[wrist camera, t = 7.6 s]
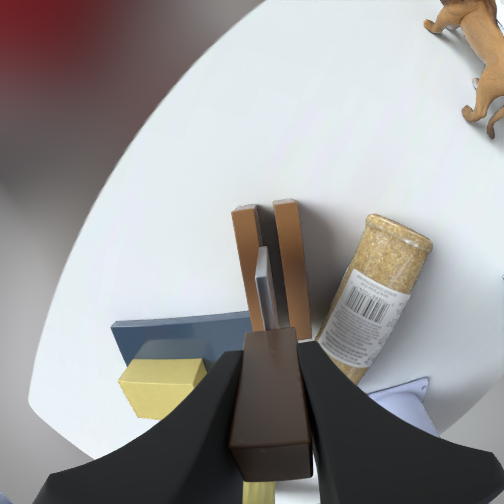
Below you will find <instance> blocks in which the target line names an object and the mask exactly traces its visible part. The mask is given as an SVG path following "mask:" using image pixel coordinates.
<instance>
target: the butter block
mask: <svg viewBox="0 0 504 504" xmlns="http://www.w3.org/2000/svg"><path fill="white" fill-rule="evenodd" d="M206 374H207V372H206V369H205V366H204V363H203V360H202V358H199V359H133V360H132V361H131V363H130V364H129V366H128V367H127V368H126V370H125V371H124V373H123V374H122V376H121V377H120V378H119V380H118V383H119V385H120V386H121V388H122V390H123V392H124V394H125V396H126V398H127V399H128V401H129V403H130V405H131V407H132V408H133V410H134V412H135V413H136V415H137V417H138V418H147V419H156V420H162V419H163V418H165V417H166V416H167V415H168V414H169V413H170V412H172V411H173V410H174V409H175V408H176V407H177V406H178V405H179V404H180V403H181V402H182V401H183V400H184V399H185V398H186V397H187V396H188V395H189V394H190V392H191V391H192V390H193V389H194V388H195V387H196V386H197V385H198V383H199V382H200V381H201V380H202V379H203V378H204V376H205V375H206Z"/></svg>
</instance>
